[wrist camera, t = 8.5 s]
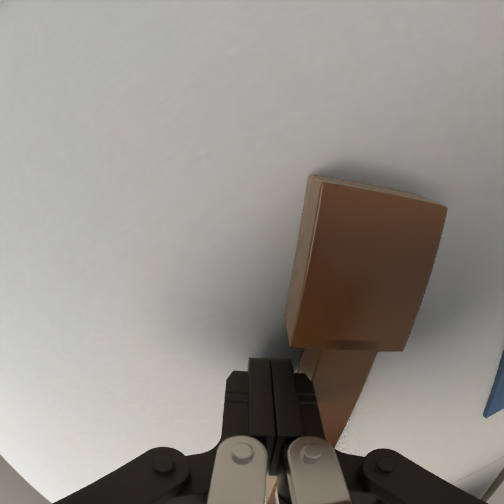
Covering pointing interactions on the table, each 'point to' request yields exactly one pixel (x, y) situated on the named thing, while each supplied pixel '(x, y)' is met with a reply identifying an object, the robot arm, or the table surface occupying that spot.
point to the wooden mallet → (355, 287)
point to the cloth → (496, 393)
